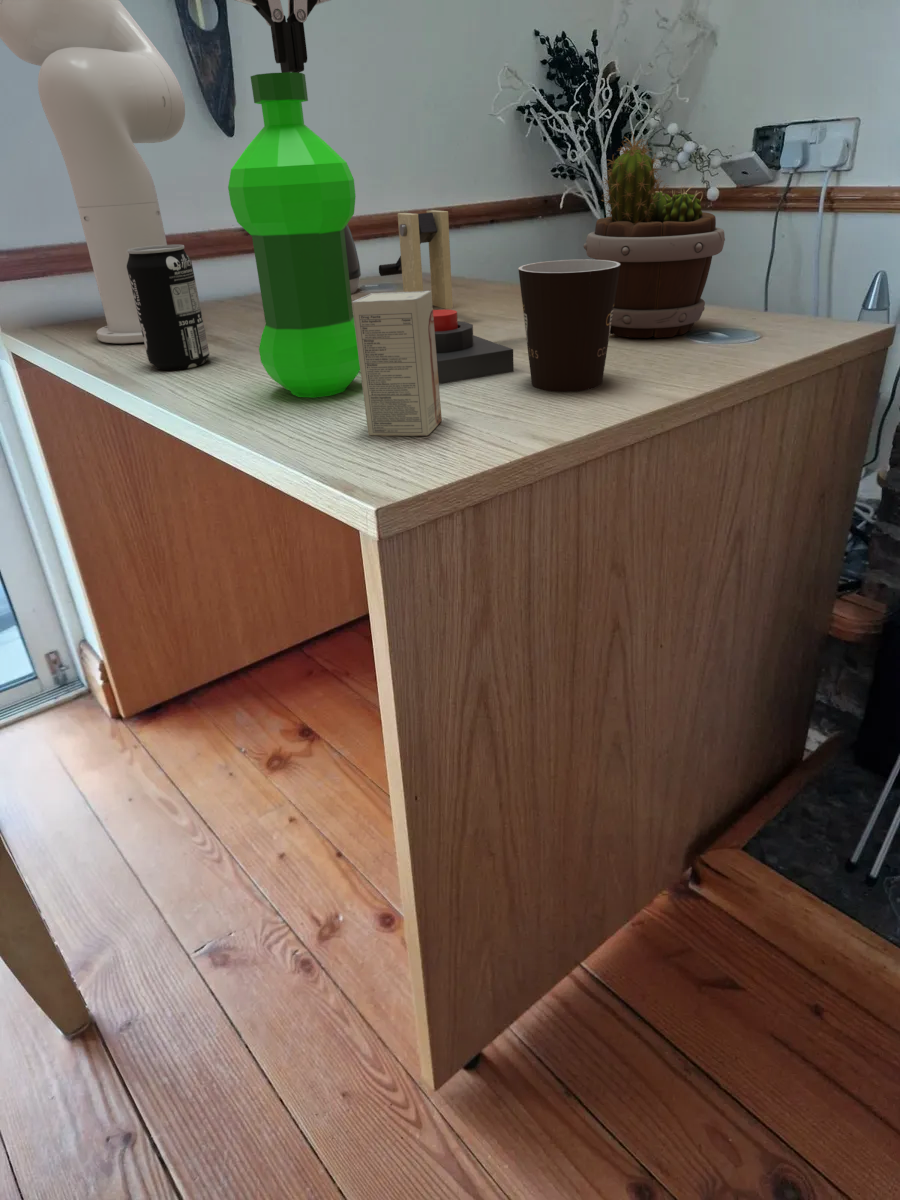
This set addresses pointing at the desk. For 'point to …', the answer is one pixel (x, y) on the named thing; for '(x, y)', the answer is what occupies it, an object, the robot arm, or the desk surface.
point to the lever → (426, 235)
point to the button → (445, 320)
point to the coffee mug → (568, 321)
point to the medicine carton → (398, 362)
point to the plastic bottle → (298, 242)
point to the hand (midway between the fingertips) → (292, 71)
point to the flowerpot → (653, 249)
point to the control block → (469, 355)
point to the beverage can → (168, 306)
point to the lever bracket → (437, 254)
